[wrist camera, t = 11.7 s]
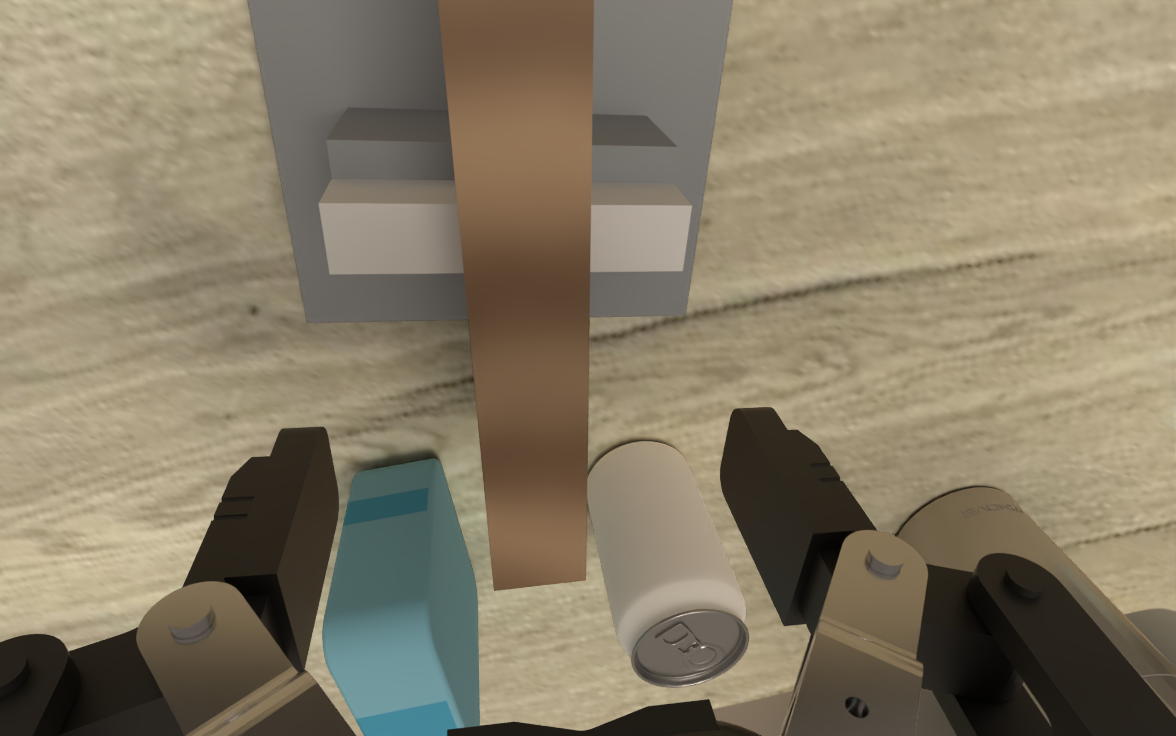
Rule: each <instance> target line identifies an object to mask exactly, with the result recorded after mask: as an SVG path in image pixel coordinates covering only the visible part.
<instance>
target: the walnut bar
mask: <svg viewBox="0 0 1176 736" xmlns="http://www.w3.org/2000/svg"><path fill="white" fill-rule="evenodd" d="M438 6H439V17H440V27H441V38H442V49H443V59H444V70H445V80H446V91H447V101H448V112H449V122H450V133H451V143H452V154H453V164H454V175H455V185H456V196H457V206H458V217H459V228H460V238H461V249H462V259H463V270H464V280H465V291H466V301H467V312H468V322H469V333H470V343H471V354H472V364H473V375H474V386H475V396H476V407H477V417H478V428H479V438H480V449H481V459H482V470H483V480H484V491H485V501H486V512H487V522H488V533H489V543H490V554H491V565H492V575H493V586H494V591H496V590H505V589H514V588H523V587H531V586H540V585H549V584H558V583H567V582H575V581H584V580H586V538H587V467H588V395H589V324H590V253H591V181H592V110H593V39H594V0H438Z"/></svg>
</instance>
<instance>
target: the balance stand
mask: <svg viewBox="0 0 1176 736" xmlns="http://www.w3.org/2000/svg"><path fill="white" fill-rule="evenodd" d="M732 4H733V0H594V39H593V110H592V181H591V253H590V317H633V316H684V315H686V309H687V302H688V296H689V289H690V282H691V276H692V269H693V263H694V256H695V249H696V243H697V236H698V229H699V223H700V216H701V210H702V203H703V196H704V190H705V183H706V176H707V170H708V163H709V157H710V150H711V143H712V137H713V130H714V123H715V117H716V110H717V104H718V97H719V90H720V84H721V77H722V70H723V64H724V57H725V50H726V44H727V37H728V31H729V24H730V17H731V11H732ZM248 6H249V11H250V17H251V22H252V28H253V33H254V38H255V44H256V49H257V55H258V60H259V66H260V71H261V76H262V82H263V87H264V93H265V98H266V104H267V109H268V114H269V120H270V125H271V131H272V136H273V142H274V147H275V152H276V158H277V163H278V169H279V174H280V180H281V185H282V190H283V196H284V201H285V207H286V212H287V218H288V223H289V228H290V234H291V239H292V245H293V250H294V256H295V261H296V266H297V272H298V277H299V283H300V288H301V294H302V299H303V305H304V310H305V315H306V321H307V323H331V322H382V321H432V320H468V312H467V301H466V291H465V280H464V270H463V259H462V249H461V238H460V228H459V217H458V206H457V196H456V185H455V175H454V164H453V154H452V143H451V133H450V122H449V112H448V101H447V91H446V80H445V70H444V59H443V49H442V38H441V27H440V17H439V6H438V0H248Z"/></svg>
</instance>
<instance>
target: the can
mask: <svg viewBox="0 0 1176 736" xmlns="http://www.w3.org/2000/svg"><path fill="white" fill-rule="evenodd" d="M587 501H588V506H589V511H590V516H591V520H592V525H593V530H594V535H595V539H596V544H597V549H598V554H599V558H600V563H601V568H602V572H603V577H604V582H605V586H606V591H607V595H608V600H609V604H610V609H611V614H612V618H613V622H614V627H615V631H616V635H617V638H618V641H619V643H620V645H621V647H622V648H623V650H624V651H625V652H626V654H627V655H628V656H629V657H630V658H631V663H632V667H633V669H634V671H635V673H636V674H637V675H638V676H639V677H640V678H641V679H643V680H644V681H646V682H648V683H650V684H653V685H656V686H661V687H687V686H692V685H697V684H700V683H703V682H706V681H709V680H711V679H714V678H716V677H718V676H720V675H721V674H723V673H725V672H726V671H728V670H729V669H730V668H732V667H733V666H734V665H735V664H736V663H737V662H738V661H739V660H740V659H741V657H742V656H743V655H744V653H745V651H746V649H747V647H748V643H749V633H748V630H747V627H746V626H745V619H746V605H745V601H744V598H743V595H742V592H741V590H740V587H739V584H738V582H737V579H736V577H735V575H734V572H733V570H732V567H731V565H730V562H729V560H728V558H727V555H726V553H725V550H724V548H723V546H722V543H721V541H720V538H719V536H718V534H717V531H716V529H715V526H714V524H713V522H712V519H711V517H710V515H709V512H708V510H707V507H706V505H705V503H704V500H703V498H702V496H701V493H700V491H699V488H698V486H697V484H696V481H695V479H694V477H693V475H692V472H691V470H690V468H689V466H688V463H687V462H686V460H685V458H684V457H683V456H682V454H681V453H680V452H678V451H677V450H676V449H674V448H673V447H671V446H668V445H666V444H663V443H659V442H653V441H636V442H631V443H627V444H624V445H621V446H619V447H617V448H615V449H613V450H611V451H610V452H608V453H607V454H606V455H604V456H603V457H602V458H601V459H600V460H599V461H598V462H597V463H596V464H595V466H594V467H593V468H592V470H591V472H590V474H589V476H588V479H587Z"/></svg>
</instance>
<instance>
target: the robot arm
mask: <svg viewBox="0 0 1176 736" xmlns="http://www.w3.org/2000/svg"><path fill="white" fill-rule="evenodd" d="M720 481H721V487H722V492H723V495H724V497H725V500H726V502H727V504H728V506H729V508H730V510H731V513H732V515H733V517H734V519H735V521H736V523H737V526H738V528H739V530H740V532H741V534H742V536H743V539H744V541H745V543H746V545H747V547H748V549H749V552H750V554H751V556H752V558H753V560H754V562H755V564H756V567H757V569H758V571H759V573H760V575H761V577H762V580H763V582H764V584H765V586H766V588H767V590H768V593H769V595H770V597H771V599H772V601H773V603H774V606H775V608H776V610H777V612H778V614H779V616H780V619H781V621H782V623H783V625H784V626H789V625H799V624H806V625H807V627H808V629H809V631H810V633H811V636H810V639H809V642H808V645H807V648H806V651H805V654H804V658H803V661H802V664H801V667H800V670H799V674H798V677H797V680H796V683H795V686H794V690H793V693H792V696H791V699H790V703H789V706H788V709H787V712H786V716H785V719H784V722H783V725H782V728H781V731H780V734H779V736H915V729H916V723H917V715H918V707H919V700H920V692H921V688H923V689H928V690H932V692H933V694H934V695H935V697H936V699H937V701H938V702H939V704H940V706H941V707H942V710H943V711H944V713H945V715H946V717H947V719H948V721H949V722H950V724H951V726H952V728H953V729H954V731H955V733H956V735H957V736H1176V668H1175V667H1174V666H1173V665H1172V664H1171V663H1170V662H1169V661H1168V660H1167V659H1166V658H1165V657H1164V656H1163V655H1162V654H1161V652H1159V650H1158V649H1157V648H1156V647H1155V646H1154V645H1153V644H1152V643H1151V642H1150V641H1149V640H1148V639H1147V638H1146V637H1145V636H1144V635H1143V634H1142V633H1141V632H1140V631H1139V630H1138V629H1137V628H1136V627H1135V626H1134V625H1133V624H1132V623H1131V621H1130V620H1129V619H1128V618H1126V616H1125V615H1124V614H1123V613H1122V612H1121V611H1120V610H1119V609H1118V608H1117V607H1116V606H1115V605H1114V604H1113V603H1112V602H1111V601H1110V600H1109V599H1108V598H1107V597H1106V596H1105V595H1104V593H1103V592H1102V591H1101V590H1100V589H1099V588H1098V587H1097V586H1096V585H1095V584H1094V583H1093V582H1092V581H1091V580H1090V579H1089V578H1088V577H1087V576H1086V575H1085V574H1084V573H1083V572H1082V571H1081V570H1080V569H1079V568H1078V567H1077V566H1076V565H1075V563H1074V562H1073V561H1072V560H1071V559H1070V558H1069V557H1068V556H1067V555H1066V554H1065V553H1064V552H1063V551H1062V550H1061V549H1060V548H1059V547H1058V546H1057V545H1056V544H1055V543H1054V542H1053V541H1052V540H1051V539H1050V538H1049V536H1048V535H1047V534H1046V533H1045V532H1044V531H1043V530H1042V529H1041V528H1040V527H1039V526H1038V525H1037V524H1036V523H1035V522H1034V521H1033V520H1032V519H1031V518H1030V517H1029V516H1028V515H1027V514H1026V513H1025V512H1024V511H1023V510H1022V509H1021V508H1020V507H1019V506H1018V505H1017V504H1016V503H1015V502H1014V500H1013V499H1012V498H1011V497H1010V496H1009V495H1008V494H1006V493H1004V492H1002V491H1000V490H997V489H993V488H985V487H976V488H969V489H963V490H960V491H957V492H953V493H950V494H948V495H946V496H944V497H941V498H939V499H937V500H935V501H934V502H932V503H930V504H929V505H927V506H925V507H924V508H923V509H921V510H920V511H919V512H918V513H916V514H915V515H914V516H913V517H912V518H911V519H910V520H909V521H908V522H907V523H906V524H905V525H904V527H903V528H902V530H901V531H900V533H899V534H898V536H897V537H896V536H893V535H891V534H888V533H885V532H881V531H877V530H876V528H875V527H874V525H873V524H872V522H871V521H870V519H869V518H868V517H867V515H866V514H865V512H864V511H863V509H862V508H861V506H860V505H859V504H858V502H857V501H856V499H855V498H854V496H853V495H852V494H851V492H850V491H849V489H848V488H847V486H846V485H845V483H844V482H843V481H840V476H839V475H838V473H837V472H836V471H835V469H834V468H833V466H830V462H829V460H828V459H827V458H826V456H825V455H824V453H823V452H822V450H821V449H820V448H819V446H818V445H817V444H816V443H814V442H813V441H812V440H810V439H809V438H808V437H806V436H805V435H804V434H802V433H801V432H800V431H798V430H787V428H786V427H785V425H784V424H783V422H782V421H781V419H780V417H779V416H778V414H777V413H776V411H775V410H774V409H773V408H771V407H758V408H737V409H734V410H733V412H732V414H731V417H730V422H729V427H728V432H727V437H726V442H725V447H724V452H723V457H722V462H721V467H720ZM338 512H339V495H338V487H337V481H336V476H335V471H334V465H333V460H332V455H331V449H330V444H329V439H328V434H327V431H326V429H325V427H307V428H285V429H281V431H280V432H279V434H278V437H277V439H276V442H275V445H274V447H273V450H272V453H271V455H270V456H266V457H251V458H250V459H249V460H248V461H247V462H246V463H245V464H244V465H243V466H242V467H241V468H240V469H239V470H238V471H237V472H235V473H234V474H233V475H232V476H231V478H230V480H229V482H228V485H227V487H226V489H225V492H224V494H223V496H222V502H221V503H219V505H218V507H217V510H216V512H215V514H214V520H213V521H211V523H210V526H209V528H208V530H207V532H206V535H205V537H204V539H203V542H202V544H201V546H200V548H199V551H198V553H197V555H196V557H195V560H194V562H193V564H192V567H191V569H190V571H189V573H188V576H187V578H186V580H185V582H184V585H183V587H182V588H180V589H178V590H176V591H174V592H172V593H170V594H169V595H167V596H165V597H164V598H162V599H161V600H160V601H158V602H157V603H156V604H155V605H154V606H153V607H152V608H151V609H150V610H149V611H148V612H147V613H146V614H145V616H144V617H143V619H142V621H141V622H140V625H139V627H137V628H135V629H133V630H131V631H129V632H126V633H123V634H121V635H118V636H115V637H112V638H109V639H105V640H102V641H99V642H96V643H93V644H90V645H87V646H84V647H81V648H78V649H75V650H72V651H69V652H68V650H67V648H66V646H65V645H64V643H63V642H62V641H61V640H60V639H58V638H56V637H54V636H50V635H46V634H29V635H23V636H18V637H15V638H12V639H8V640H6V641H3V642H0V736H356V735H355V733H354V732H353V731H352V729H351V728H350V726H349V725H348V724H347V722H346V721H345V720H344V718H343V717H342V716H341V714H340V713H339V711H338V710H337V709H336V707H335V706H334V705H333V703H332V702H331V701H330V699H329V698H328V696H327V695H326V694H325V692H324V691H323V690H322V688H321V687H320V686H319V684H318V683H317V682H316V680H315V679H314V678H313V677H312V675H311V674H310V673H309V672H307V671H306V670H304V669H305V664H306V660H307V655H308V651H309V646H310V642H311V637H312V633H313V628H314V624H315V619H316V615H317V610H318V606H319V601H320V597H321V592H322V588H323V583H324V579H325V574H326V570H327V565H328V561H329V557H330V552H331V548H332V543H333V539H334V534H335V530H336V525H337V520H338ZM447 736H761V735H759V734H757V733H755V732H753V731H751V730H748V729H746V728H743V727H741V726H738V725H734V724H731V723H727V722H723V721H717V720H716V719H715V716H714V713H713V709H712V706H711V703H710V700H709V699H708V700H699V701H691V702H682V703H673V704H665V705H656V706H648V707H645V708H643V709H640V710H638V711H635V712H633V713H630V714H628V715H625V716H623V717H620V718H618V719H615V720H613V721H610V722H608V723H605V724H603V725H600V726H598V727H595V728H593V729H590V730H585V731H577V730H570V729H563V728H555V727H548V726H541V725H534V724H527V723H520V722H508V723H500V724H491V725H482V726H474V727H465V728H456V729H448V730H447Z"/></svg>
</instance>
